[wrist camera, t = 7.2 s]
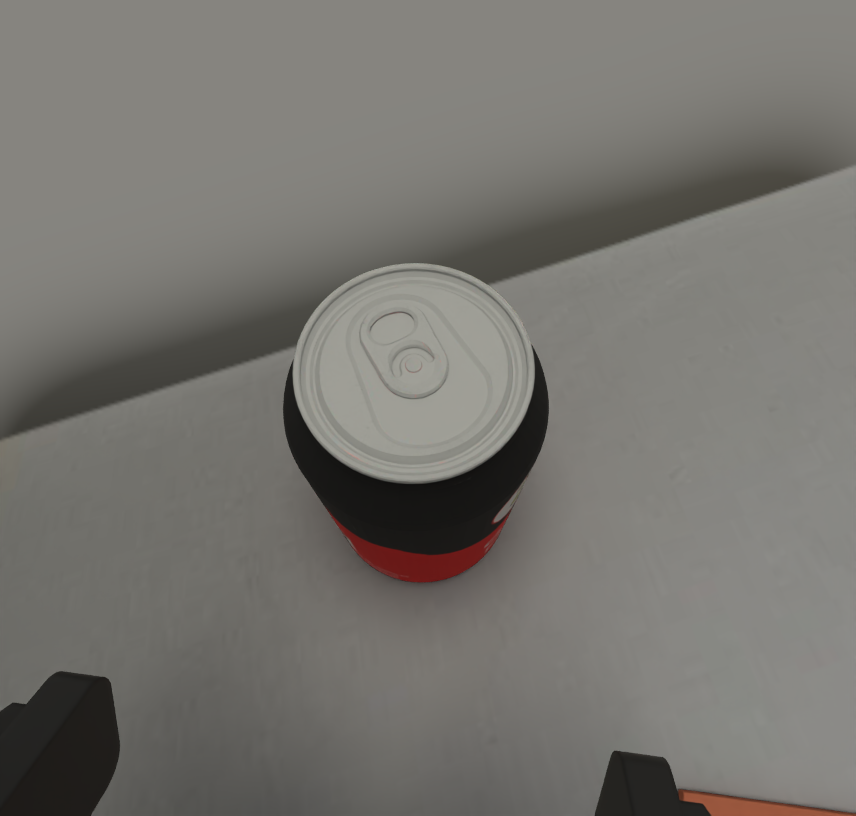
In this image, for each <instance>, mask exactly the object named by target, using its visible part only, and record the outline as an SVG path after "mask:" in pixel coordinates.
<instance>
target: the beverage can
mask: <svg viewBox="0 0 856 816" xmlns="http://www.w3.org/2000/svg"><path fill="white" fill-rule="evenodd" d="M548 414H549V400H548V391H547V385H546V381H545V377H544V372H543V369H542V366H541V363H540V361H539V358H538V356H537V354H536V352H535V350H534V348H533V346H532V345H531V342H530V339H529V336H528V334H527V332H526V329H525V327H524V325H523V323H522V322H521V320H520V318H519V317H518V315H517V314H516V312H515V311H514V310H513V308H512V307H511V306H510V305H509V304H508V302H507V301H506V300H505V299H504V298H503V297H502V296H501V295H499V294H498V293H497V292H496V291H495V290H493V289H492V288H491V287H490V286H488V285H487V284H485V283H483V282H482V281H480V280H479V279H476V278H475V277H472V276H471V275H468V274H466V273H464V272H461V271H458V270H455V269H452V268H449V267H444V266H440V265H433V264H421V263H409V264H397V265H391V266H386V267H382V268H379V269H375V270H372V271H369V272H367V273H364V274H362V275H360V276H358V277H355V278H353V279H352V280H350V281H348V282H346V283H345V284H343V285H342V286H340V287H339V288H338V289H336V290H335V291H334V292H332V293H331V294H330V295H329V296H328V297H327V298H326V299H325V300H324V301H323V302H322V303H321V304H320V305H319V306H318V307H317V309H316V310H315V311H314V312H313V314H312V315H311V317H310V318H309V320H308V321H307V323H306V325H305V327H304V329H303V331H302V333H301V335H300V338H299V340H298V343H297V347H296V350H295V355H294V359H293V362H292V364H291V367H290V369H289V373H288V377H287V380H286V386H285V392H284V404H283V416H284V426H285V432H286V437H287V440H288V444H289V447H290V450H291V452H292V455H293V457H294V459H295V461H296V463H297V465H298V467H299V469H300V470H301V472H302V473H303V475H304V476H305V478H306V479H307V481H308V482H309V484H310V485H311V487H312V488H313V490H314V491H315V493H316V494H317V496H318V497H319V499H320V500H321V502H322V503H323V505H324V506H325V507H326V509H327V510H328V512H329V513H330V515H331V516H332V518H333V519H334V521H335V522H336V524H337V525H338V527H339V528H340V530H341V531H342V533H343V534H344V536H345V537H346V539H347V540H348V542H349V543H350V545H351V546H352V548H353V549H354V550H355V551H356V553H357V554H358V555H359V556H360V557H361V558H362V559H363V560H364V561H365V562H367V563H368V564H369V565H370V566H372V567H373V568H375V569H376V570H378V571H380V572H382V573H384V574H386V575H388V576H391V577H393V578H396V579H400V580H404V581H410V582H433V581H439V580H443V579H447V578H450V577H453V576H455V575H458V574H460V573H462V572H464V571H465V570H467V569H469V568H470V567H472V566H473V565H474V564H476V563H477V562H478V561H479V560H480V559H481V558H482V557H484V555H485V554H486V553H487V552H488V551H489V550H490V548H491V547H492V546H493V544H494V543H495V541H496V539H497V538H498V536H499V534H500V532H501V530H502V528H503V526H504V524H505V522H506V520H507V518H508V516H509V514H510V512H511V510H512V508H513V506H514V504H515V502H516V500H517V498H518V495H519V493H520V491H521V489H522V487H523V485H524V483H525V481H526V479H527V477H528V475H529V473H530V471H531V469H532V467H533V465H534V463H535V461H536V459H537V457H538V455H539V452H540V450H541V447H542V444H543V441H544V438H545V434H546V429H547V424H548Z"/></svg>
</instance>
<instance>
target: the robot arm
mask: <svg viewBox="0 0 856 816" xmlns="http://www.w3.org/2000/svg"><path fill="white" fill-rule="evenodd" d="M119 751H120V740H119V734H118V727H117V721H116V714H115V707H114V701H113V694H112V688H111V683H110V681H109V680H108V679H107V678H105V677H99V676H92V675H85V674H78V673H71V672H63V671H59V672H56V673H55V674H53V675H52V676H50V677H49V678H48V679H47V680H46V681H45V683H44V684H43V685H42V686H41V687H40V689H39V690H38V691H37V692H36V693H35V695H34V696H33V697H32V698H31V699H30V701H29V702H28V703H27V704H19V703H12V704H10V705H9V706H7V707H6V708H4V709H3V710H2V711H0V816H91V814H92V812H93V811H94V809H95V807H96V806H97V804H98V802H99V801H100V799H101V797H102V796H103V794H104V792H105V791H106V789H107V787H108V785H109V783H110V781H111V779H112V777H113V774H114V772H115V769H116V765H117V762H118V757H119ZM595 816H711V814H710V813H709V811H708V810H707V809H706V807H705V806H704V804H702V803H695V802H688V801H681V800H679V796H678V793H677V789H676V785H675V782H674V778H673V775H672V772H671V769H670V766H669V764H668V762H667V760H666V759H665V758H663V757H657V756H650V755H643V754H636V753H629V752H622V751H614V752H613V753H612V755H611V758H610V761H609V765H608V768H607V772H606V776H605V779H604V783H603V786H602V790H601V794H600V797H599V801H598V805H597V808H596V812H595Z"/></svg>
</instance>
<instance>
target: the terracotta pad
mask: <svg viewBox="0 0 856 816" xmlns="http://www.w3.org/2000/svg"><path fill="white" fill-rule="evenodd" d="M678 793H679V800H681V801H688V802H695V803H702V804H704V806H705V807H706V809H707V810H708V811H709V813H710V814H711V816H856V814H854V813H847V812H840V811H833V810H826V809H819V808H811V807H804V806H797V805H790V804H783V803H775V802H768V801H761V800H754V799H747V798H740V797H732V796H725V795H718V794H711V793H704V792H697V791H689V790H682V789H679V791H678Z"/></svg>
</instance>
